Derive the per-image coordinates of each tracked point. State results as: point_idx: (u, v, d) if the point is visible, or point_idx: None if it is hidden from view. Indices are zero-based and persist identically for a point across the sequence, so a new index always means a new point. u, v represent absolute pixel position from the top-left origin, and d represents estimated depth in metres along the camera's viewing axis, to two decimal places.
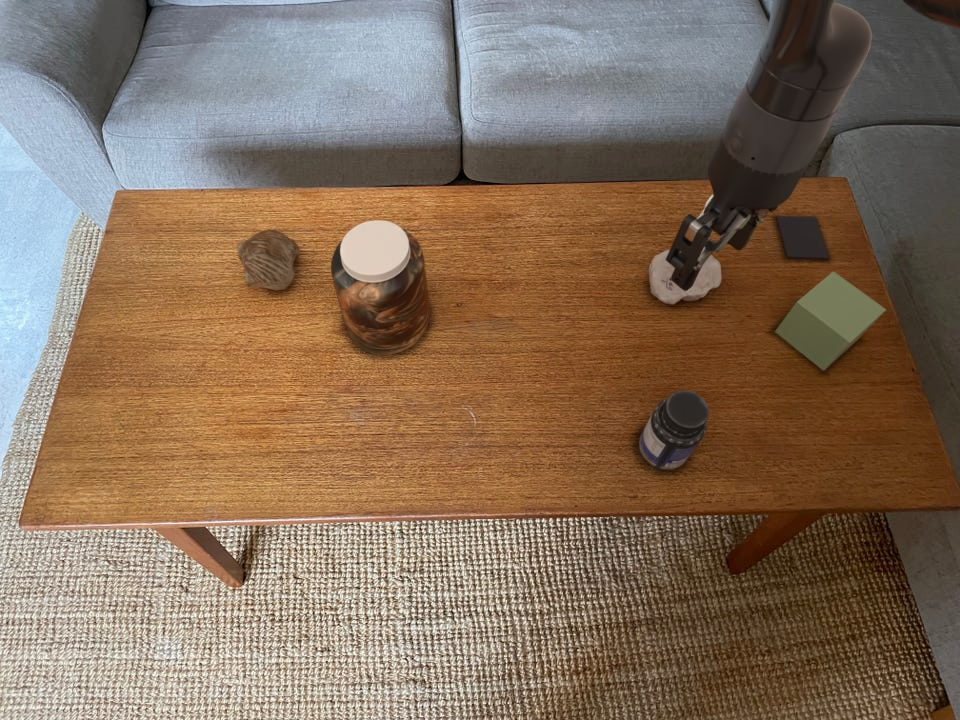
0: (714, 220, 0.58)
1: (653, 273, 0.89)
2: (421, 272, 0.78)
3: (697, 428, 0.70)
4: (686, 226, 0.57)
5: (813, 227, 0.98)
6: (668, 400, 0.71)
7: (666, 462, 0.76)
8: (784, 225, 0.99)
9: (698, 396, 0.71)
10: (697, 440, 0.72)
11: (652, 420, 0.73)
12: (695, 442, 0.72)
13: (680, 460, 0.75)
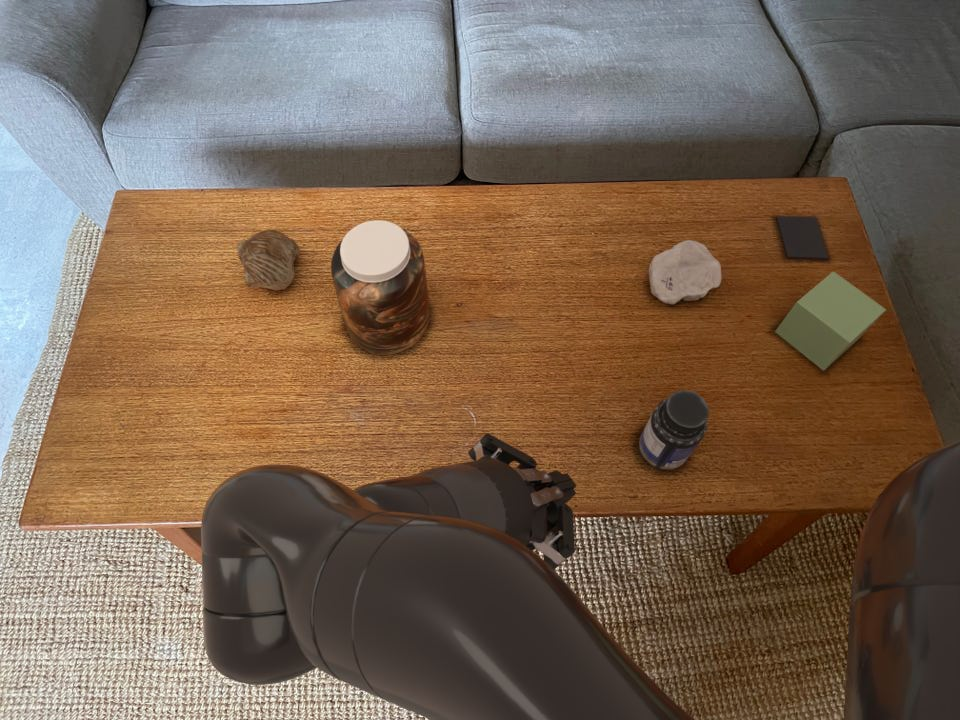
0: (545, 540, 0.51)
1: (653, 273, 0.89)
2: (421, 272, 0.78)
3: (697, 428, 0.70)
4: None
5: (813, 227, 0.98)
6: (668, 400, 0.71)
7: (666, 462, 0.76)
8: (784, 225, 0.99)
9: (698, 396, 0.71)
10: (697, 440, 0.72)
11: (652, 420, 0.73)
12: (695, 442, 0.72)
13: (680, 460, 0.75)
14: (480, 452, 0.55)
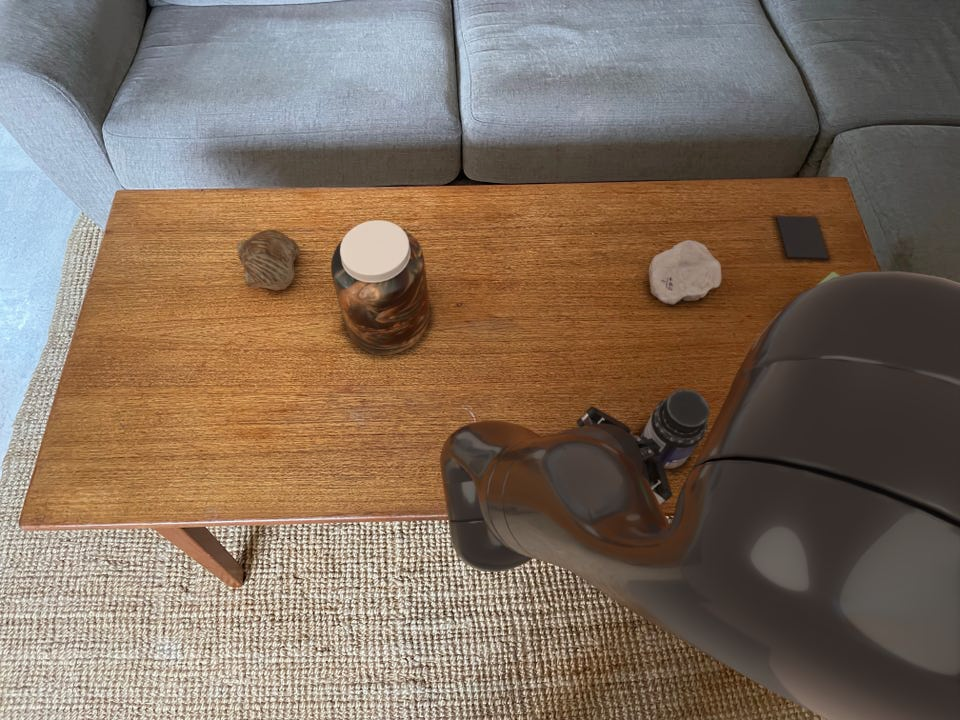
0: None
1: (653, 273, 0.89)
2: (421, 272, 0.78)
3: (698, 427, 0.70)
4: None
5: (813, 227, 0.98)
6: (669, 399, 0.71)
7: (666, 461, 0.76)
8: (784, 225, 0.99)
9: (699, 395, 0.71)
10: (697, 439, 0.72)
11: (653, 419, 0.73)
12: (695, 441, 0.72)
13: (680, 459, 0.75)
14: (588, 421, 0.69)
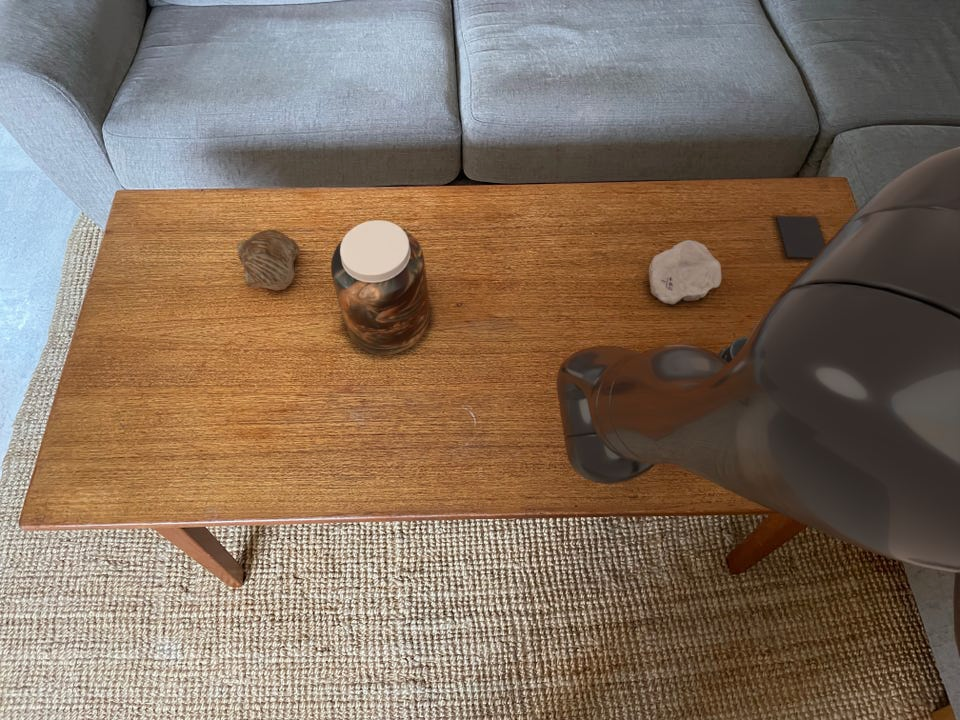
0: None
1: (653, 273, 0.89)
2: (421, 272, 0.78)
3: None
4: None
5: (813, 227, 0.98)
6: (731, 347, 0.75)
7: None
8: (784, 225, 0.99)
9: None
10: None
11: None
12: None
13: None
14: None
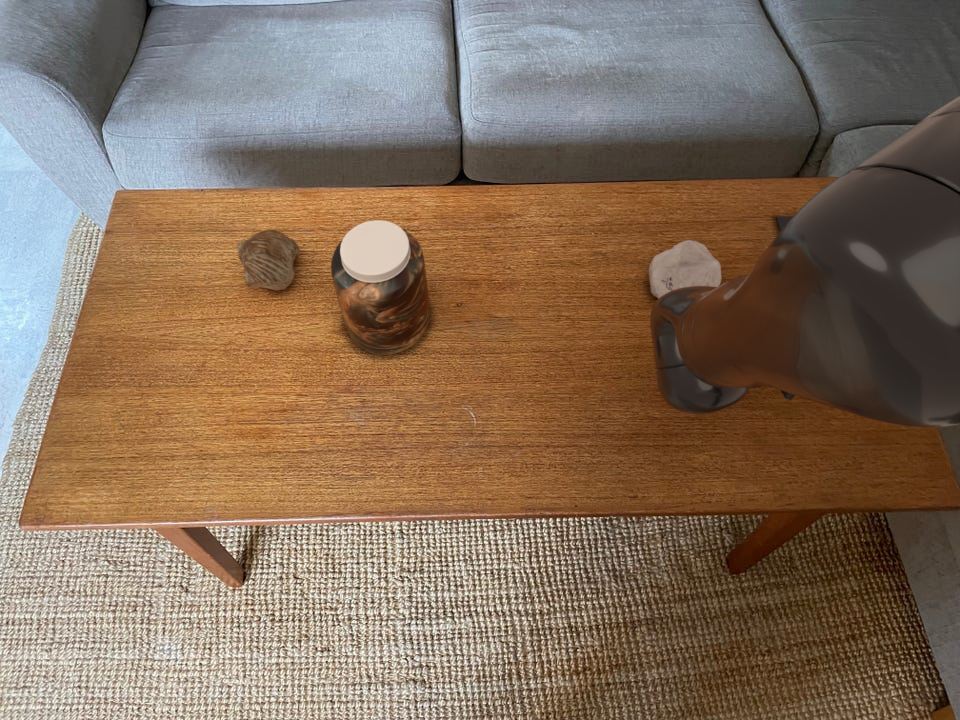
0: None
1: (653, 273, 0.89)
2: (421, 272, 0.78)
3: None
4: None
5: None
6: None
7: None
8: (784, 225, 0.99)
9: None
10: None
11: None
12: None
13: None
14: None
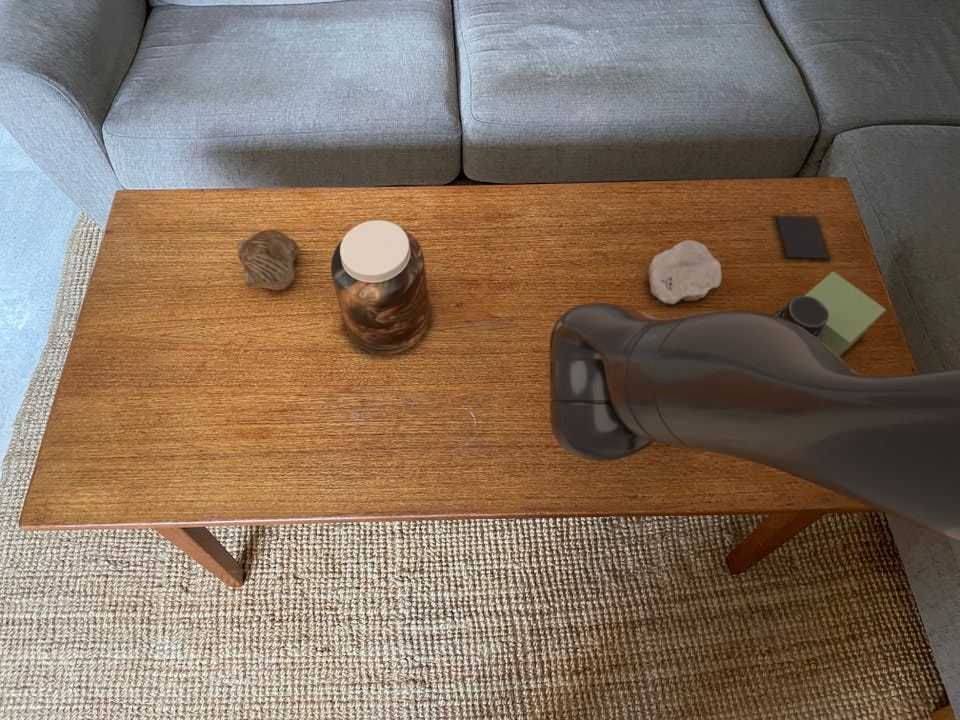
0: None
1: (653, 273, 0.89)
2: (421, 272, 0.78)
3: (820, 327, 0.77)
4: None
5: (813, 227, 0.98)
6: (790, 305, 0.78)
7: None
8: (784, 225, 0.99)
9: (816, 300, 0.78)
10: None
11: None
12: None
13: None
14: None
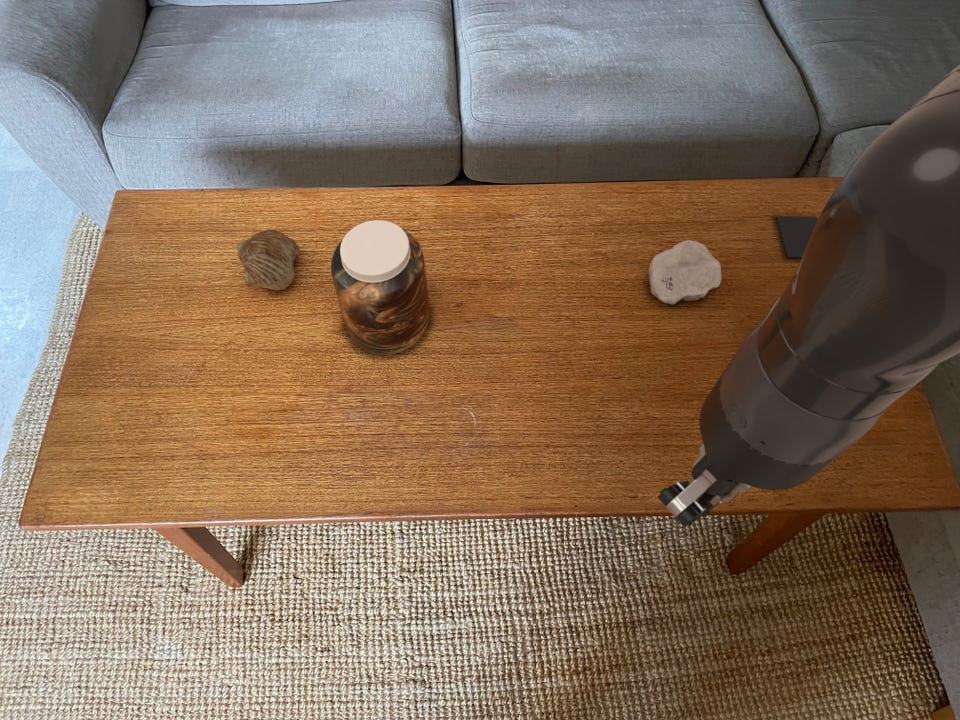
0: (704, 492, 0.41)
1: (653, 273, 0.89)
2: (421, 272, 0.78)
3: None
4: None
5: (813, 227, 0.98)
6: None
7: None
8: (784, 225, 0.99)
9: None
10: None
11: None
12: None
13: None
14: None
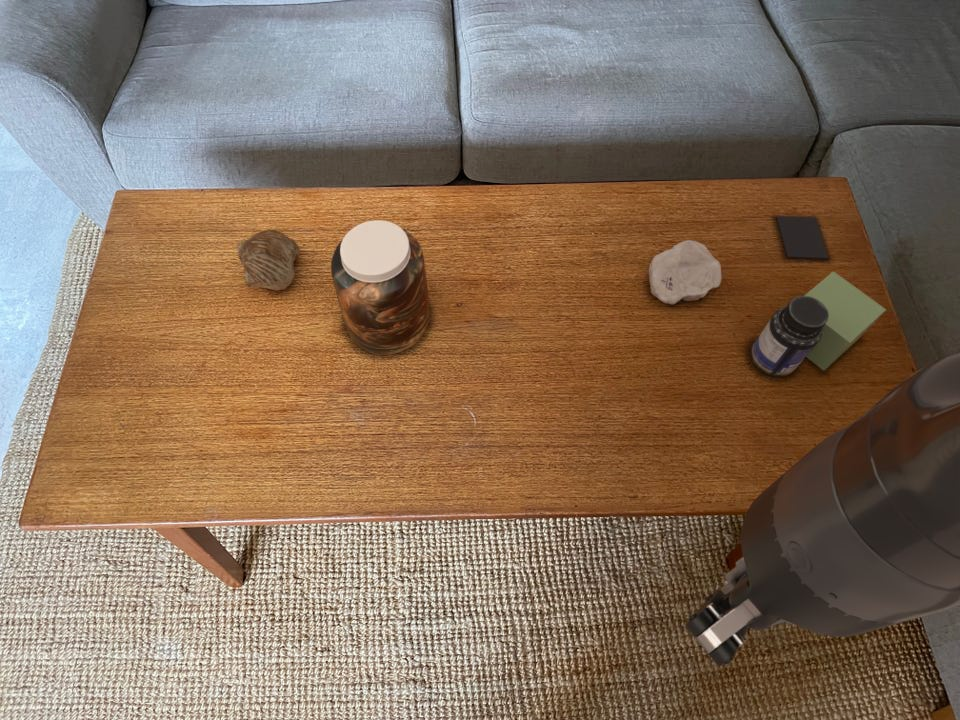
0: None
1: (653, 273, 0.89)
2: (421, 272, 0.78)
3: (820, 327, 0.77)
4: None
5: (813, 227, 0.98)
6: (790, 305, 0.78)
7: (783, 367, 0.83)
8: (784, 225, 0.99)
9: (816, 300, 0.78)
10: (817, 340, 0.79)
11: (772, 327, 0.80)
12: (815, 342, 0.79)
13: (796, 364, 0.82)
14: None
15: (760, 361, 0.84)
